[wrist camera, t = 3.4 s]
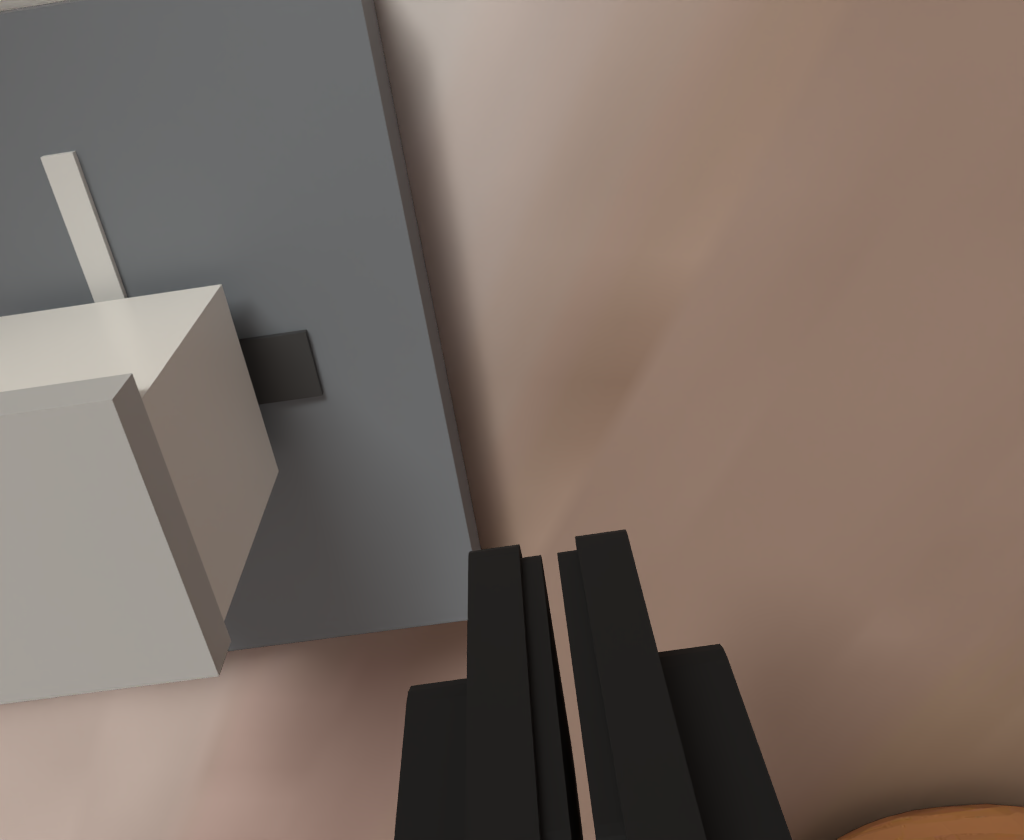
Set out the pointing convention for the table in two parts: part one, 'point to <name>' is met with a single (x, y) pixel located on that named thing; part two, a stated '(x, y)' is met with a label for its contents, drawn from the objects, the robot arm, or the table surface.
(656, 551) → the table surface
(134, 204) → the fader console
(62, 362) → the fader tab
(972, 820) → the donut
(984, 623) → the table surface
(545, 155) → the table surface
